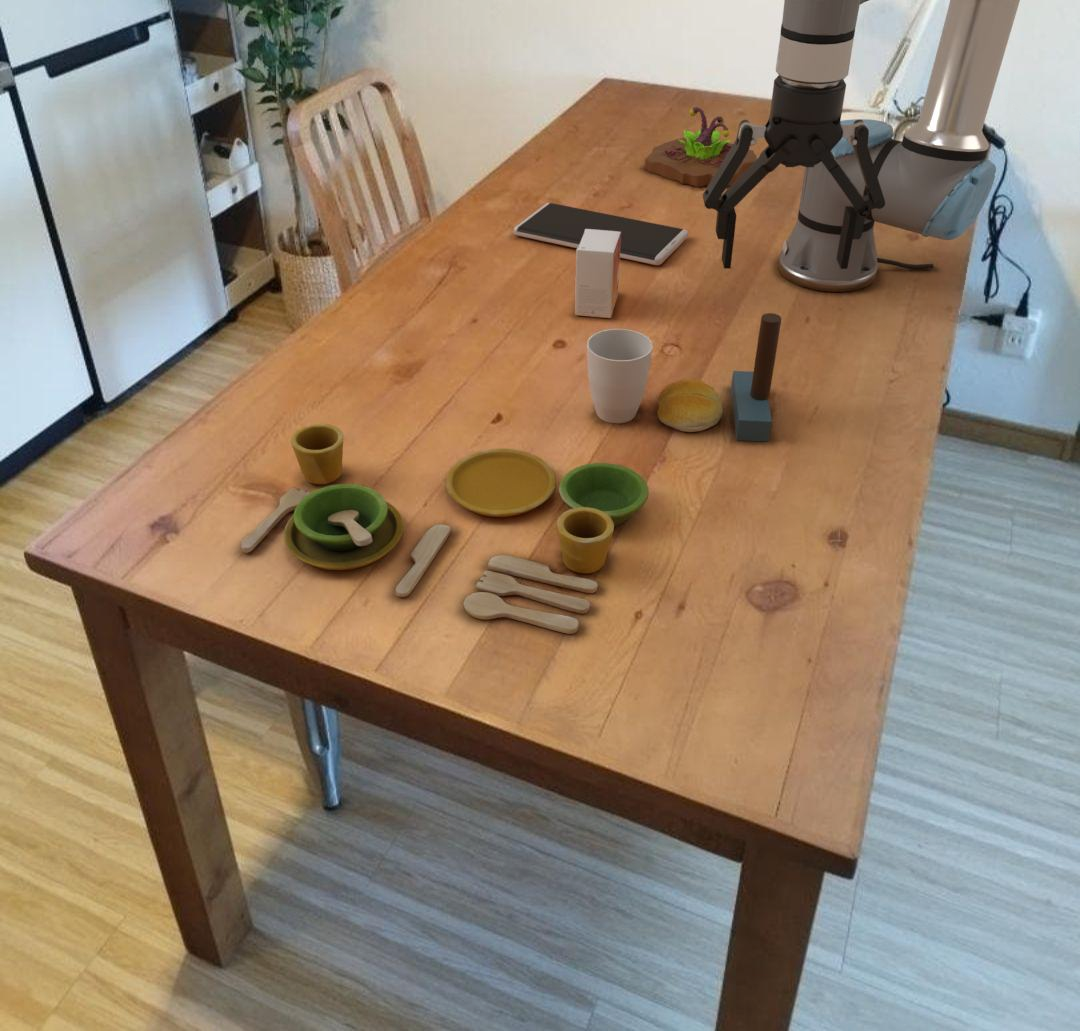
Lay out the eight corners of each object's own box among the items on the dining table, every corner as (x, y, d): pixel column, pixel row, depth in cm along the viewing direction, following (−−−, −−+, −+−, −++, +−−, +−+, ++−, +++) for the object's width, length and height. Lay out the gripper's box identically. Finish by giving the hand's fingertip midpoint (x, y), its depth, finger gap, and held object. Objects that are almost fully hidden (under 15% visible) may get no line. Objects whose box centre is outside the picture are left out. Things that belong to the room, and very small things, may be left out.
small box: (611, 319, 159) (614, 252, 152) (574, 316, 160) (575, 249, 153) (619, 295, 165) (622, 230, 158) (583, 292, 166) (584, 227, 159)
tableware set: (224, 553, 116) (213, 506, 112) (347, 422, 137) (341, 379, 133) (584, 648, 105) (586, 600, 101) (660, 489, 125) (664, 445, 121)
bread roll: (656, 433, 135) (658, 406, 132) (658, 395, 142) (660, 369, 139) (722, 437, 134) (726, 410, 132) (721, 399, 141) (724, 373, 139)
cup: (654, 402, 140) (659, 334, 134) (638, 435, 134) (643, 365, 128) (595, 391, 143) (597, 324, 136) (576, 423, 137) (578, 354, 130)
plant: (681, 143, 219) (686, 86, 212) (768, 163, 210) (776, 104, 203) (630, 171, 206) (633, 112, 199) (720, 194, 197) (726, 133, 190)
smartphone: (547, 210, 191) (547, 200, 190) (689, 238, 182) (690, 228, 181) (511, 237, 182) (511, 227, 181) (659, 268, 172) (660, 258, 171)
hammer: (762, 391, 143) (776, 295, 134) (770, 441, 133) (786, 342, 125) (730, 390, 143) (743, 294, 134) (736, 440, 134) (750, 340, 125)
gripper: (920, 66, 116) (882, 250, 129) (689, 67, 116) (675, 249, 130) (939, 88, 110) (897, 278, 123) (695, 88, 111) (680, 277, 124)
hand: (783, 264), depth 126 cm, fingers open, 13 cm apart
